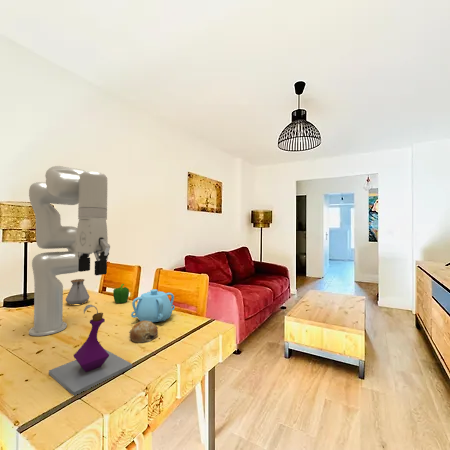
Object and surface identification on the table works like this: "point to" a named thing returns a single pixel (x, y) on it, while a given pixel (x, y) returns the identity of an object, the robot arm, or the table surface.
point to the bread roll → (143, 332)
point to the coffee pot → (77, 293)
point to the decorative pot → (153, 306)
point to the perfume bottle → (92, 346)
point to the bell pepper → (121, 294)
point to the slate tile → (88, 373)
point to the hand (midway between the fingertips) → (92, 272)
